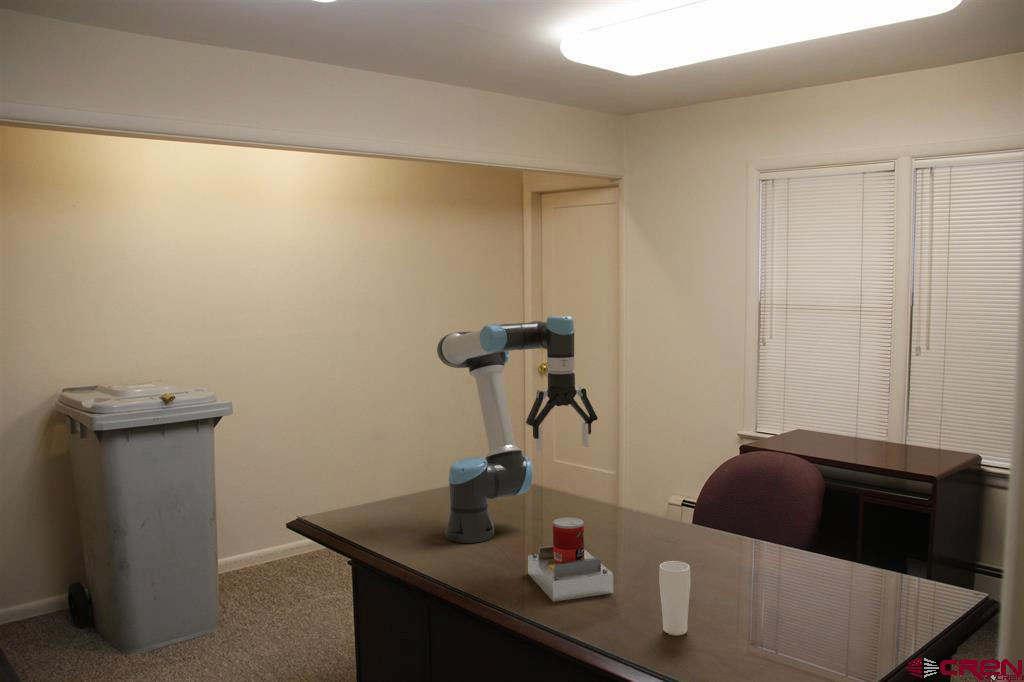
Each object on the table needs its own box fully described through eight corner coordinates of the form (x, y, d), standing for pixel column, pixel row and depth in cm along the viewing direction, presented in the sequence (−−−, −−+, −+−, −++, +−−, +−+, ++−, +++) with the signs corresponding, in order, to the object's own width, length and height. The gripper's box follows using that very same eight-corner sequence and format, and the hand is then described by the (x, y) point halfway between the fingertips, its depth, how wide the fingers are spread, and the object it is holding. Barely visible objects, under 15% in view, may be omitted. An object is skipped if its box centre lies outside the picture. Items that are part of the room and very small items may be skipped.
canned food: (582, 569, 209) (581, 526, 208) (551, 567, 211) (550, 525, 210) (586, 558, 217) (585, 517, 216) (555, 557, 218) (555, 516, 218)
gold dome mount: (528, 573, 222) (527, 544, 221) (583, 566, 226) (583, 537, 226) (553, 601, 203) (552, 569, 202) (613, 592, 207) (612, 561, 206)
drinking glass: (656, 625, 187) (655, 561, 186) (685, 624, 188) (685, 559, 187) (664, 638, 181) (663, 572, 179) (694, 637, 181) (694, 570, 180)
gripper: (522, 376, 221) (523, 454, 222) (608, 370, 228) (609, 446, 229) (513, 373, 228) (515, 449, 229) (597, 368, 235) (599, 441, 237)
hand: (562, 448), depth 229 cm, fingers open, 13 cm apart
